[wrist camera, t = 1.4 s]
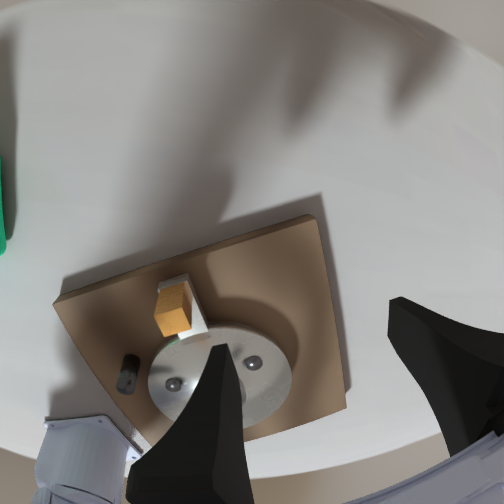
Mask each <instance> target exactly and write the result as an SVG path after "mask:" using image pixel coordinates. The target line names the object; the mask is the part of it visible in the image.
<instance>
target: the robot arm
mask: <svg viewBox="0 0 504 504" xmlns="http://www.w3.org/2000/svg"><path fill="white" fill-rule="evenodd" d="M387 336H388V338H389V340H390V342H391V344H392V346H393V347H394V349H395V351H396V353H397V354H398V356H399V357H400V359H401V360H402V362H403V363H404V364H405V366H406V367H407V369H408V370H409V371H410V373H411V374H412V376H413V377H414V378H415V380H416V381H417V383H418V384H419V386H420V387H421V389H422V390H423V392H424V394H425V396H426V398H427V400H428V402H429V404H430V406H431V408H432V410H433V412H434V414H435V416H436V419H437V421H438V423H439V426H440V428H441V431H442V433H443V436H444V438H445V441H446V444H447V448H448V451H449V454H450V458H448V459H447V460H445V461H443V462H441V463H439V464H437V465H436V466H434V467H432V468H430V469H428V470H426V471H424V472H422V473H420V474H418V475H415V476H413V477H411V478H409V479H407V480H404V481H403V482H400V483H398V484H395V485H393V486H390V487H388V488H385V489H383V490H380V491H378V492H375V493H372V494H370V495H367V496H364V497H361V498H358V499H356V500H352V501H349V502H346V503H343V504H504V490H503V488H504V333H497V332H492V331H487V330H482V329H478V328H475V327H472V326H468V325H465V324H462V323H459V322H457V321H454V320H452V319H449V318H447V317H444V316H442V315H440V314H438V313H436V312H433V311H431V310H429V309H427V308H425V307H423V306H421V305H419V304H417V303H415V302H413V301H410V300H408V299H406V298H404V297H398V298H395V299H392V300H389V320H388V335H387ZM43 425H44V426H45V428H46V429H47V432H46V435H45V438H44V440H43V443H42V446H41V449H40V452H39V455H38V458H37V461H36V464H35V478H36V482H37V485H38V487H39V488H38V489H37V490H36V491H35V493H34V495H33V497H32V500H31V503H30V504H121V501H122V491H123V482H124V473H125V465H126V461H128V460H137V461H136V462H135V463H134V464H132V465H131V468H130V472H129V475H128V481H127V488H126V499H127V501H128V502H129V503H131V504H254V499H253V494H252V489H251V485H250V479H249V473H248V468H247V462H246V456H245V449H244V440H243V415H242V395H241V389H240V383H239V377H238V374H237V371H236V368H235V365H234V362H233V359H232V356H231V353H230V350H229V347H228V344H227V343H225V344H220V345H215V346H212V348H211V350H210V353H209V356H208V359H207V362H206V365H205V367H204V370H203V372H202V374H201V377H200V379H199V381H198V383H197V385H196V387H195V389H194V391H193V393H192V395H191V397H190V399H189V401H188V402H187V404H186V406H185V407H184V409H183V410H182V412H181V413H180V415H179V416H178V418H177V419H176V421H175V422H174V423H173V425H172V426H171V427H170V428H169V430H168V431H167V432H166V433H165V435H164V436H163V437H162V438H161V439H160V440H159V441H158V442H157V443H156V444H155V445H154V446H153V447H152V448H151V449H150V450H149V451H148V452H147V453H146V454H145V455H143V456H142V454H141V453H140V452H139V451H138V450H137V449H136V448H135V447H134V446H133V445H132V444H131V443H130V442H129V441H128V440H127V439H126V437H125V436H124V435H123V434H122V433H121V432H120V431H119V430H118V428H117V427H116V426H115V425H114V424H113V423H112V422H111V420H110V419H109V418H108V417H107V416H104V415H102V416H94V417H86V418H77V419H67V420H56V421H45V422H44V424H43ZM138 459H139V460H138Z"/></svg>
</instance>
